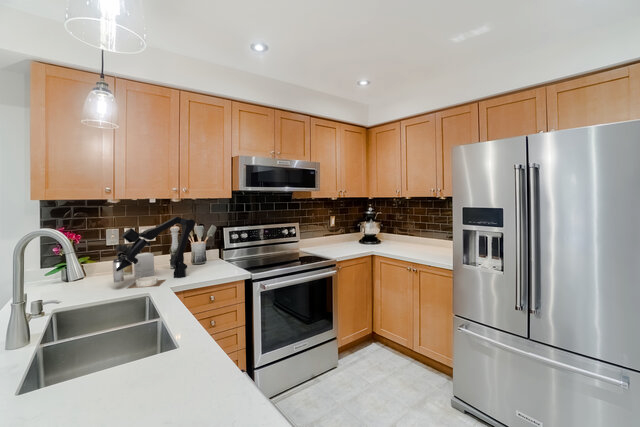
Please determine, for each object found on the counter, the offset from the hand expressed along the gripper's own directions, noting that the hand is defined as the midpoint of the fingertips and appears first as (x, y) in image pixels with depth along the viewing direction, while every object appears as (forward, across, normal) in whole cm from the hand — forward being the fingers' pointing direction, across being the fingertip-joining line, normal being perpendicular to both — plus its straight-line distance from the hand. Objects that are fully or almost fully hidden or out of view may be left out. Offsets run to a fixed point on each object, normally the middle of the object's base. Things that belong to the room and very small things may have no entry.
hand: (115, 270), depth 162 cm
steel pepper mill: (+4, 0, +6) cm, 7 cm away
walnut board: (-3, 0, +20) cm, 20 cm away
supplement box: (-8, -27, +26) cm, 38 cm away
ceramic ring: (-3, 0, +19) cm, 19 cm away
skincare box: (-4, -42, +21) cm, 47 cm away
